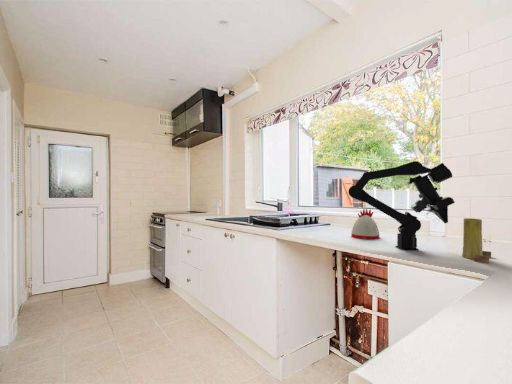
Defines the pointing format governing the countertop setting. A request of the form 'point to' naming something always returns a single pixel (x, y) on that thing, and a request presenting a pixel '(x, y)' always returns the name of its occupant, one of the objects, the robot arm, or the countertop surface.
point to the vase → (472, 238)
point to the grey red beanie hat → (365, 227)
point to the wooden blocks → (483, 257)
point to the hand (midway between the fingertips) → (446, 222)
